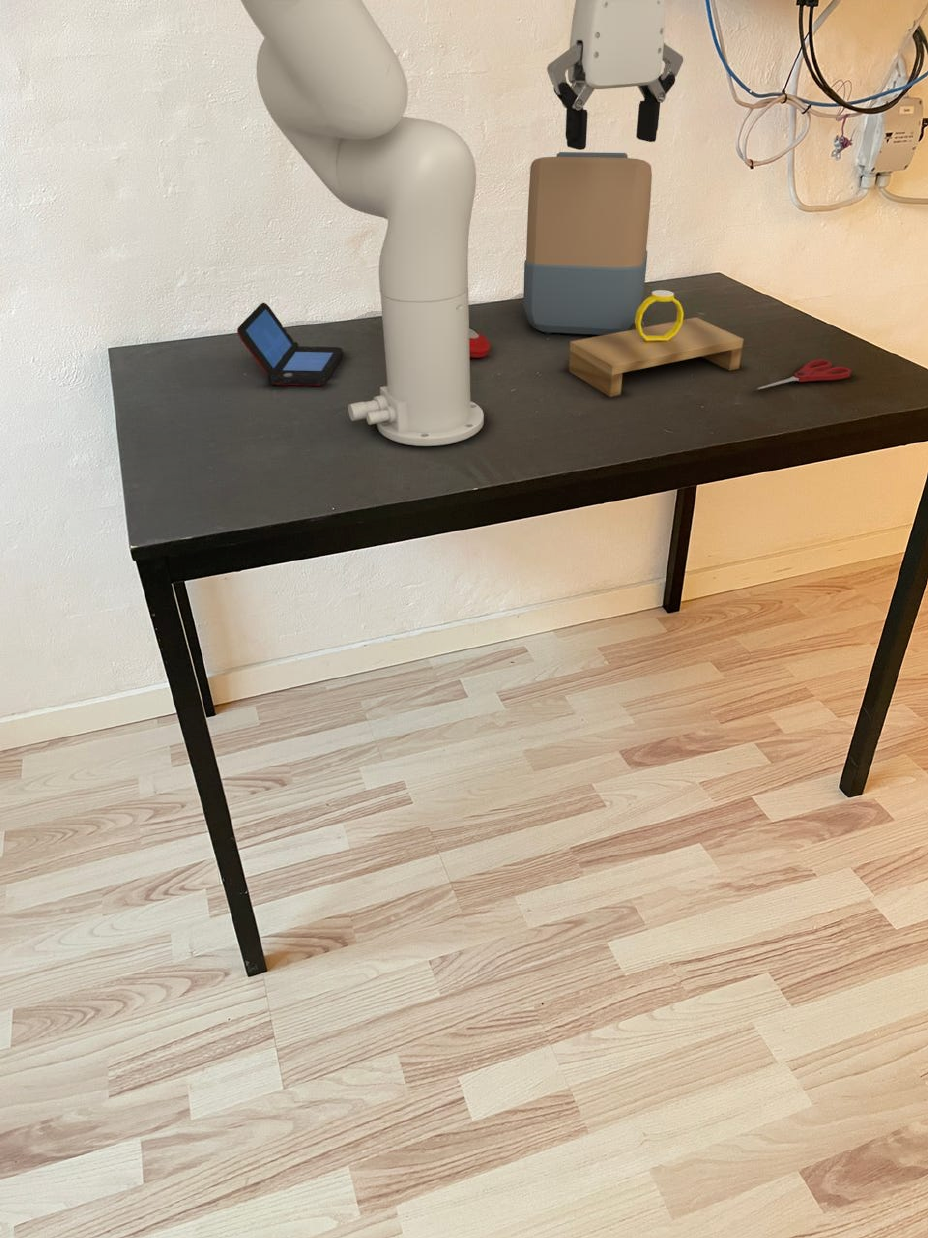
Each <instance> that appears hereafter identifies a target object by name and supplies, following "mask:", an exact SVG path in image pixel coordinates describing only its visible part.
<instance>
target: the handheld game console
mask: <svg viewBox="0 0 928 1238" xmlns="http://www.w3.org/2000/svg"><path fill="white" fill-rule="evenodd" d="M236 332H237V336H238V338H239V339H240V341H241V342H242V343H243V344H244V346H245V347H246V348H247V350H248V351H249V352H250V354H251V355H252V356H253V358H254V359H255V361H256V362H257V363H258V365H259V366H260V367H261V368H262V370H263V371H264V372H265V374H266V375H267V377H268V380H267V381H268V384H269V385H270V386H305V387H307V386H309V387H311V386H312V387H318V386H322V385H325V384H326V383H327V381H328V379H329V378H330V376H331V374H332V373H333V372H334V370H335V368H336V367H337V365H338V364H339V362H340V360H341V359H342V357H343V356H344V350H343V348H342V347H339V346H299V344H298V342H297V341H294V339H293V338H292V336H291V335H290V333H288V332H287V330H286V328H284V326H283V324H282V322H281V321H280V320H279V318H278V317H277V315H276V314H275V313H274V311H273V309H272V308H271V306H269V304H267V303H266V302H261V303H260V304H259V305H258V306H257V307H256V308H255V309H254V310H253V312H251V313H250V314H249V316H247V317H246V319H245V320H243V322H241V323H240V325H239V326H238V327H237V329H236Z"/></svg>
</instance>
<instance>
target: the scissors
mask: <svg viewBox="0 0 928 1238" xmlns="http://www.w3.org/2000/svg"><path fill="white" fill-rule="evenodd" d="M851 373H852V370H851V369H850V368H847V367H844V366H834V367H832V362H831V361H830V360H828V359H823V358H819V359H813V360H811V361H809V362H807V363H806V364H804V365H803V367H801V368H800V369H799V370H798V371H796V372H795V373H794V374H793V375H792V376H790V377H788V378H786V379H783V380H780V381H779V380H778V381H776V382H772V383H769V384H767V385H762V386H760V387H756V390H761V389H766V388H770V387H775V386H778V385H782V384H785V383H789V382H797V383H806V382H820V381H837V380H838V381H839V380H843V379H847V378H849V377H850V376H851Z"/></svg>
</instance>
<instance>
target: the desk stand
mask: <svg viewBox="0 0 928 1238" xmlns="http://www.w3.org/2000/svg"><path fill="white" fill-rule="evenodd" d="M676 321H677V320H675V321H670V322H665V323H660V324H659V323H658V324H654V325H648V326H644V327H641V328H642V332H643V333H644V335H645V336H663V335H665V334H666V333H667V332H669V331H670V330H671V329H672V327H673V325H674V324H675V322H676ZM743 344H744V338H743V337H741V336H738V335H736V334H734V333H731V332H729V331H727V330H726V329H722V328H720V327H718V326H716V325H714V324H712V323H709V322H707V321H705V320H703V319H700V318H698V317H690V318H686V319H683V323H682V326H681V327H680V329H679V331H678V332H677V334H676V335H675V336H674V337H672V338H671V339H670V340H668V341H646V340H645V339H644V338H643V337H642V336H641V335H640V334H639V333H638V332H637V329H636V328H633V329H628V330H627V331H623V332H617V333H612V334H607V335H597V336H591V337H587V338H581V339H577V340H570V342H569V357H568V358H569V359H568V372H569V373H571V374H573V375H574V376H576V377H577V378H579V379H580V380H582V381H584V382H585V383H587V384H588V385H590V386H592V387H593V388H595V389H596V390H598V391H600V392H601V393H603V394H604V395H606V396H608V397H609V398H612V397H617V396H621V394H622V385H623V384H622V383H623V373H624V374H625V373H629V372H633V371H638V370H643V369H647V368H654V367H657V366H662V365H667V364H671V363H676V362H680V361H686V360H690V359H694V358H703V359H705V360H707V361H709V362H711V363H713V364H714V365H717V366H719V367H721V368H723V369H725V370H727V371H735V370H738V369H740V363H741V357H742V352H743V351H742V350H743V346H744V345H743Z"/></svg>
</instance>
